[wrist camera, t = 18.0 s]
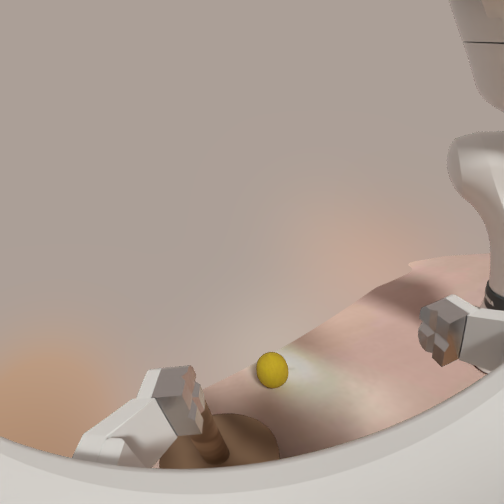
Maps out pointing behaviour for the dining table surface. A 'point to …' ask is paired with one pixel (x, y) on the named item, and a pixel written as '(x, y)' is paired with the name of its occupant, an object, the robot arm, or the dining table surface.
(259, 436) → the lid
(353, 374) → the dining table surface
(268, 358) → the lemon
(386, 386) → the dining table surface
